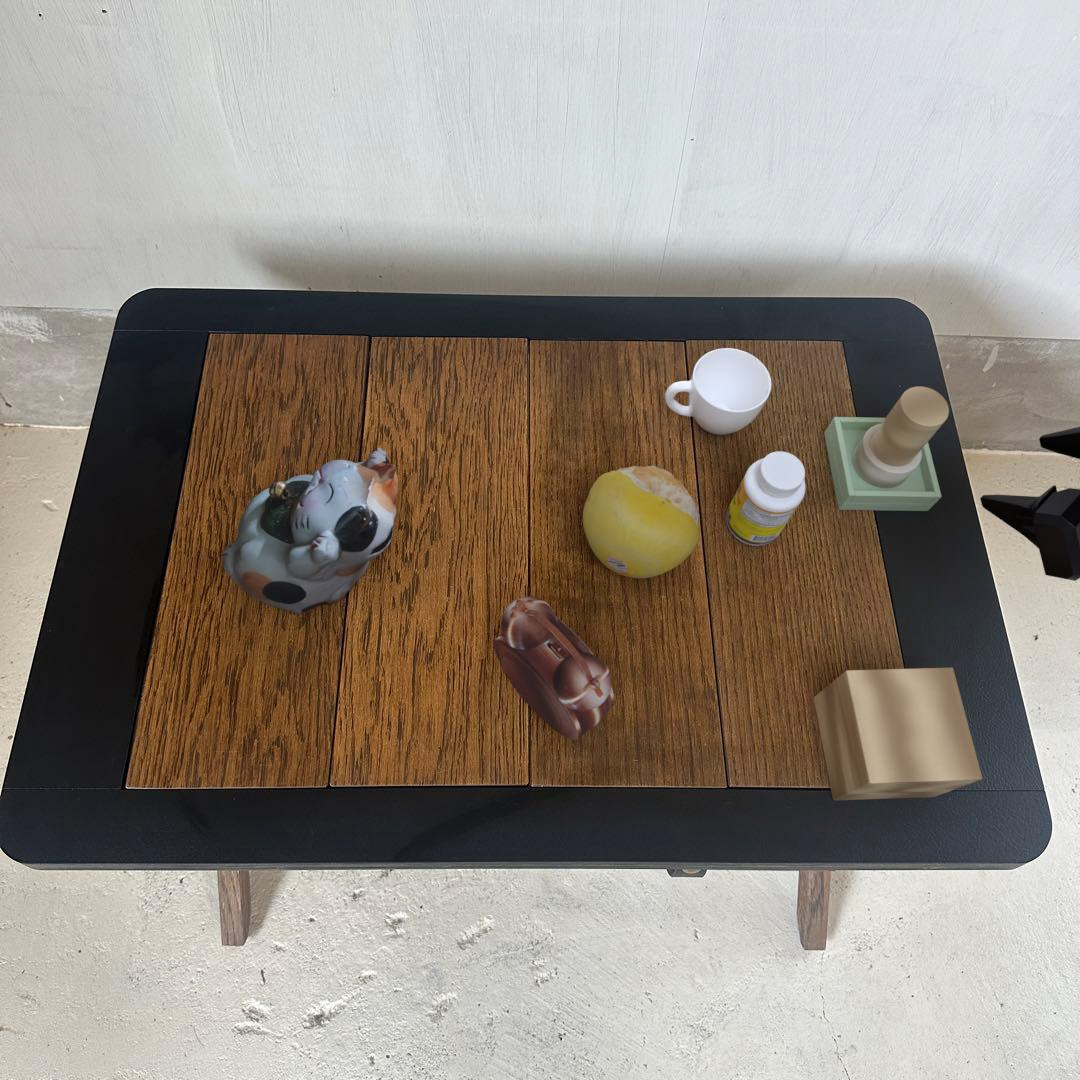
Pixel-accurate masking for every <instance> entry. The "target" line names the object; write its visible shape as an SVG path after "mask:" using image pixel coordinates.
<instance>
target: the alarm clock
mask: <svg viewBox="0 0 1080 1080" xmlns="http://www.w3.org/2000/svg"><path fill="white" fill-rule="evenodd" d="M504 609H505V610H504V611H503V612H502V615H501V622H500V626H501V627H500V628H501V633H500V634H499V635H498V637H497V638H495V639H494V640H493V641H492V644H493V645H492V646H493V650H494V653H495V655H496V658H497V660H498V662H499V664H500V665H501V668H502V669H503V672H504V674H505V675H506V677H507V679H508V681H509V682H510V683H511V685H512V686H513V688H514V689H515V691H516V692H517V693H518V694H519V696H520V697H521V699H522V700H523V701H524V702H525V703H526V704H527V706H528V707H529V708H530V709H531V710H532V711H533V712H534V714H536V715H537V716H538V717H539V718H540V719H541V720H542V721H543V722H545V723H546V724H547V725H548V726H549V727H551V728H552V729H553V730H555V731H556V733H558V734H560V735H561V736H562V737H564V738H566V739H567V740H570V741H578V739H579V738H581V737H582V736H583V735H585V734H586V733H588V732H589V731H591V730H592V729H593V728H594V727H596V726H597V725H598V724H599V723H600V722H601V721H602V719H604V717H605V716H606V715H607V714H608V713H609V712H610V711H611V709H612V708H613V707H614V706H615V703H616V697H615V693H614V690H613V686H612V682H613V681H612V680H613V678H612V674H611V672H610V669H609V668H608V666H607V664H606V663H605V662H604V661H603V660H602V659H601V658H599V657H598V656H596V655H595V654H594V653H593V652H592V650H591V649H590V648H589V647H588V646H587V644H586V643H585V642H584V641H583V640H582V638H581V637H580V636H579V635H578V634H577V633H576V632H574V630H572V628H570V626H569V625H568V624H565V622H563V621H562V620H561V619H560V618H558V617H557V615H556V614H555V612H554V609H553V608H552V607H551V606H550V605H549V604H548V603H547V602H546V601H545V600H543V599H542V598H540V597H537V596H523V597H520V598H517V599H515V600H513V601H512V602H511V603H510V604H509V605H508V606H507V607H506V608H504Z"/></svg>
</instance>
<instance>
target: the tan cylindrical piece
mask: <svg viewBox="0 0 1080 1080" xmlns="http://www.w3.org/2000/svg"><path fill="white" fill-rule="evenodd" d="M949 414H950V407H949V404H948V402H947V400H946V399H945V398H944V396H943V395H941V393H939V392H938V391H936V390H935V389H933V388H930V387H927V386H920V385H919V386H913V387H909V388H908V389H906V390H905V391H904V392H903V393H902V395H900V397H899V398H898V400H897V401H896V402H895V404H894V405H893V407H892V408H891V409H890V410H889V412H888V413H887V415H886V417H884V418H885V419H884V421H883V422H882V424H878V425H875V426H873V427H871V428H870V429H869V430H868V431H867V432H866V433H865V435H864V436H863V438H862V439H861V440H860V442H859V443H858V445H857V446H856V448H855V449H854V451H853V454H852V463H853V467H854V469H855V471H856V473H857V474H858V475H859V476H860V477H861V478H862V479H863V480H864V481H865V482H867V483H869V484H871V485H873V486H876V487H879V488H893V487H896V486H898V485H900V484H902V483H903V482H904V481H905V480H906V479H907V478H908V476H909V475H910V474H911V473H912V472H913V471H914V469H915V468H916V467H917V466H918V464H919V463H920V461H921V457H922V450H921V449H922V448H923V447H924V446H925V445H926V443H927V442H928V443H929V441H930V440H931V439H932V438H933V437H934V435H935V434H936V433H937V432H938V430H939V429H940V428H941V427H942V425H944V423H945V422H946V421H947V419H948V417H949Z"/></svg>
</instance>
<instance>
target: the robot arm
mask: <svg viewBox="0 0 1080 1080" xmlns="http://www.w3.org/2000/svg"><path fill="white" fill-rule="evenodd" d="M1038 441H1039V445H1040V447H1041V448H1042V449H1045V450H1047V451H1050V452H1053V453H1056V454H1059V455H1063V456H1066V457H1069V458H1074V459H1078V460H1080V426H1077V427H1072V428H1068V429H1064V430H1059V431H1055V432H1054V431H1053V432H1050V433H1046V434H1042V435H1041V436H1040V437H1039V438H1038ZM979 500H980V503H981V507H982V508H983V509H985V510H986V511H988V512H989V513H990V514H992V515H993V516H995V517H997V518H998V519H999V520H1000V521H1002V522H1003V523H1004V524H1006V525H1008V526H1009V527H1011V528H1012V529H1014V530H1015V531H1017V533H1019V534H1021V535H1022V536H1023V537H1025V539H1028V541H1029V542H1031V544H1033V545H1034V546H1035V547H1036V548H1037V549H1038V551H1039V556H1040V559H1041V562H1042V567H1043V570H1044V571H1043V572H1044V575H1045V576H1049V577H1054V578H1058V579H1064V580H1068V581H1073V582H1077V581H1078V580H1079V579H1080V488H1072V487H1068V488H1065V489H1061V490H1058V488H1057V485H1055V484H1054V485H1052V486H1050V487H1049V488H1048V489H1047V490H1046V491H1044V492H1043V493H1042V494H1041V495H1039V496H1033V495H1031V496H1030V495H1011V494H983V495H982V496H981V497H980V499H979Z"/></svg>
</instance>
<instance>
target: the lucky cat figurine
mask: <svg viewBox="0 0 1080 1080" xmlns="http://www.w3.org/2000/svg"><path fill="white" fill-rule="evenodd" d="M398 478H399V477H398V474H397V465H396V464H394V463H393V464H392V463H391V462H390V459H388V455H387V451H386V450H383V448H381V447H378V448H377V450H374V451H372V452H371V453H369V456H368V458H367V459H366V460H365V461H359V462H353V461H350V460H346V459H333V460H331V461H328V462H325V463H324V464H323V465H321V467H320V468H319V469H317V470H316V471H314V472H313V473H312V474H298V475H295V476H292V477H290V478H289V479H287V480H285V481H284V480H280V479H279V480H277V481H275V482H272V484H270V486H269V487H268V488H266V489H264V490H262V491H261V492H259V493H258V494H257V495H255V496H254V497H253V498H252V499H251V500H250V502H249V503H248V504H247V506H246V508H245V511H243V514H242V516H241V518H240V520H239V522H238V526H237V535H236V537H235V539H234V541H232V542H231V543H230V544H228V545H227V546H226V547H225V548H224V550H223V551H222V553H221V560H222V565H223V569H224V570H225V573H226V574H227V575H228V577H230V579H231V580H232V581H233V583H235V584H236V585H237V586H238V588H240V589H241V590H242V591H244V592H245V593H246V594H248V595H249V596H250V597H252V598H254V599H255V600H257V601H259V602H261V603H262V604H265V605H266V606H267V605H268V606H270V607H273V608H276V609H281V610H284V611H288V612H291V613H294V614H299V615H303V614H304V613H306V612H308V611H310V610H312V609H314V608H315V607H320V606H325V605H333V604H335V603H336V602H340V601H341V600H342V599H344V597H345V596H346V595H347V594H348V592H349V591H350V590H351V589H352V587H353V586H354V585H355V584H356V583H357V582H358V581H359V580H360V579H361V578H362V577H363V576H364V574H365V572H366V571H367V569H368V567H369V565H370V562H371V561H373V560H374V559H376V558H377V557H378V556H380V555H381V554H382V552H384V551H385V550H386V549H388V547H389V546H390V544H391V541H392V539H393V537H394V524H395V523H394V521H395V519H396V516H397V515H396V514H397V507H396V500H397V498H398V494H399V479H398Z"/></svg>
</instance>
